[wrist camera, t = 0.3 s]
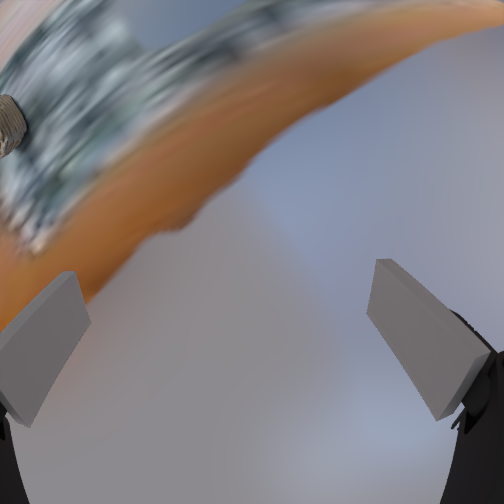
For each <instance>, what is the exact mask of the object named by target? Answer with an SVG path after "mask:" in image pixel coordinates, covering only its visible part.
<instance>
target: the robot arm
mask: <svg viewBox="0 0 504 504" xmlns="http://www.w3.org/2000/svg"><path fill="white" fill-rule="evenodd" d="M367 315H368V316H369V318H370V319H371V321H372V322H373V324H374V325H375V326H376V328H377V329H378V331H379V332H380V334H381V335H382V336H383V338H384V339H385V341H386V342H387V344H388V345H389V347H390V348H391V350H392V351H393V353H394V354H395V356H396V357H397V359H398V360H399V361H400V363H401V365H402V366H403V368H404V369H405V371H406V373H407V374H408V376H409V377H410V379H411V380H412V382H413V383H414V385H415V387H416V388H417V390H418V392H419V393H420V394H421V396H422V398H423V400H424V401H425V403H426V404H427V406H428V407H429V409H430V411H431V413H432V414H433V416H434V418H435V419H436V421H438V420H441V419H443V418H445V417H447V416H449V415H451V414H453V413H454V411H455V410H456V409H457V407H458V406H459V404H460V403H461V402H462V403H463V405H464V406H465V408H464V409H463V411H462V412H461V413H460V415H459V416H458V418H457V419H456V420H455V421H454V423H453V424H452V427H451V429H454V427H455V426H456V425H457V424H458V422H460V424H459V427H458V429H457V430H458V436H457V442H456V446H455V451H454V456H453V461H452V464H451V468H450V473H449V476H448V479H447V483H446V486H445V489H444V492H443V496H442V498H441V501H440V504H504V351H502V352H500V353H497V352H496V351H495V350H494V349H493V348H492V347H491V345H490V344H489V343H488V342H487V341H486V340H485V339H484V338H483V337H482V336H481V335H480V334H479V333H478V332H477V331H474V328H473V327H471V325H470V324H468V323H467V321H465V320H464V319H463V318H462V317H461V316H460V315H459V314H457V313H455V312H454V311H452V310H450V309H448V308H447V307H446V306H445V305H444V304H443V303H441V302H440V301H439V300H438V299H437V298H436V297H435V296H434V295H433V294H432V293H430V292H429V291H428V290H427V289H426V288H425V287H424V286H423V285H421V284H420V283H419V282H418V281H417V280H416V279H415V278H413V277H412V276H411V275H410V274H409V273H408V272H406V271H405V270H404V269H403V268H402V267H400V266H399V265H398V264H397V263H396V262H394V261H393V260H392V259H377V260H376V266H375V272H374V278H373V283H372V289H371V294H370V299H369V304H368V309H367ZM90 324H91V321H90V318H89V315H88V312H87V309H86V306H85V302H84V299H83V296H82V293H81V289H80V286H79V282H78V279H77V275H76V271H63V272H62V273H61V274H59V275H58V276H57V277H56V278H55V279H54V280H53V281H52V282H51V283H50V284H48V285H47V286H46V287H45V288H44V289H43V290H42V291H41V292H40V293H39V294H38V295H37V296H36V297H35V298H34V299H33V300H32V301H31V302H30V303H29V304H28V305H27V306H26V307H25V308H24V309H23V310H22V311H21V312H20V313H19V314H18V315H17V316H16V317H15V318H14V319H13V320H12V321H11V322H10V323H9V324H8V325H7V326H6V327H5V329H4V330H3V331H2V332H1V333H0V504H30V503H29V501H28V498H27V495H26V492H25V489H24V486H23V483H22V479H21V476H20V472H19V468H18V464H17V460H16V456H15V452H14V447H13V442H12V436H11V431H10V425H9V422H8V419H7V418H6V417H5V415H6V413H7V411H8V413H9V414H10V415H11V416H12V418H13V419H14V420H15V421H16V422H17V423H19V424H22V425H24V426H26V427H29V428H30V427H31V425H32V423H33V421H34V419H35V417H36V415H37V413H38V411H39V409H40V407H41V405H42V403H43V402H44V400H45V398H46V396H47V394H48V392H49V391H50V389H51V387H52V385H53V384H54V382H55V380H56V378H57V376H58V375H59V373H60V371H61V370H62V368H63V366H64V365H65V363H66V362H67V360H68V358H69V357H70V355H71V353H72V352H73V350H74V349H75V347H76V345H77V344H78V342H79V341H80V339H81V338H82V336H83V335H84V333H85V332H86V330H87V329H88V327H89V326H90Z"/></svg>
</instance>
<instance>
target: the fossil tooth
mask: <svg viewBox="0 0 504 504" xmlns="http://www.w3.org/2000/svg"><path fill="white" fill-rule="evenodd" d="M26 130H27V127H26V122H25V121H24V119H23V116H22V114H21V112H20V110H19V109H18V108H17V106H16V104H15V103H14V102H13V100H12V98H11V97H10V96H9V95H8V96H6V95H4V94H3V95H0V159H1V158H3V157H5V156H6V155H8V154H9V153H10V152H11V151H13V149H14V148H16V147H17V146H18V145H19V144H20V142H21V140H22V138H23V136H24V133H25V132H26Z"/></svg>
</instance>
